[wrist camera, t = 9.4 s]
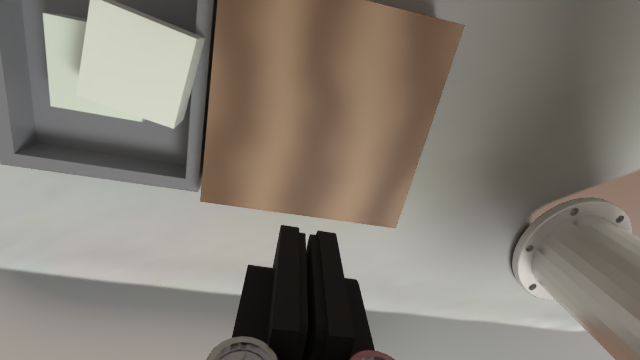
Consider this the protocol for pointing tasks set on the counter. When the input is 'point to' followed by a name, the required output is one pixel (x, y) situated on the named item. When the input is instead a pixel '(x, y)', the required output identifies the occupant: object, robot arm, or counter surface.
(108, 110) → the tile rear
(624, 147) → the counter surface
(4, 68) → the box
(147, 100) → the tile front
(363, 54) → the tan square panel
